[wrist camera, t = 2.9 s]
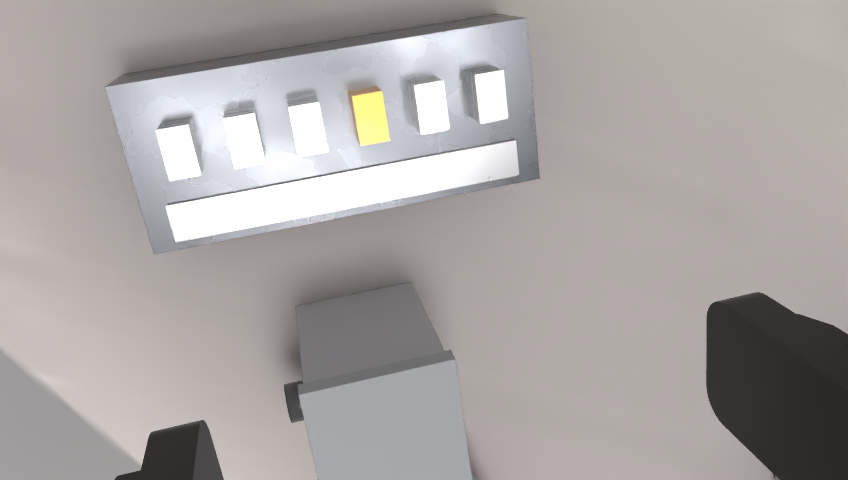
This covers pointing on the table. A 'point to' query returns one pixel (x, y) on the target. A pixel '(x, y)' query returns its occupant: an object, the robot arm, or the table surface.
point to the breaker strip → (327, 129)
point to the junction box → (378, 390)
